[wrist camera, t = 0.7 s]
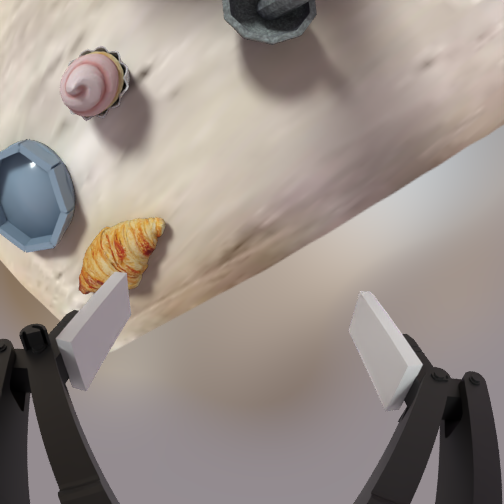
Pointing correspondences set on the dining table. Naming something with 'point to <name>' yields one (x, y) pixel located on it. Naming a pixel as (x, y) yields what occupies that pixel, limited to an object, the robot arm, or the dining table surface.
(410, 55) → the dining table surface
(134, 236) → the croissant
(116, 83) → the cupcake
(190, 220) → the dining table surface
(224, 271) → the dining table surface
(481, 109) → the dining table surface
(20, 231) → the octagonal dish
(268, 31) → the mortar and pestle
